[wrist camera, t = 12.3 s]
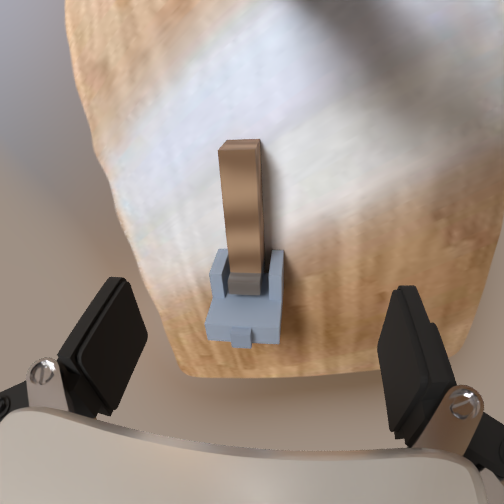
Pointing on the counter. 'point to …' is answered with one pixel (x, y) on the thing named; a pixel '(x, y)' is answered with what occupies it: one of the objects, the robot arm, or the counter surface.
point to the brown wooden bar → (243, 214)
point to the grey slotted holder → (246, 305)
